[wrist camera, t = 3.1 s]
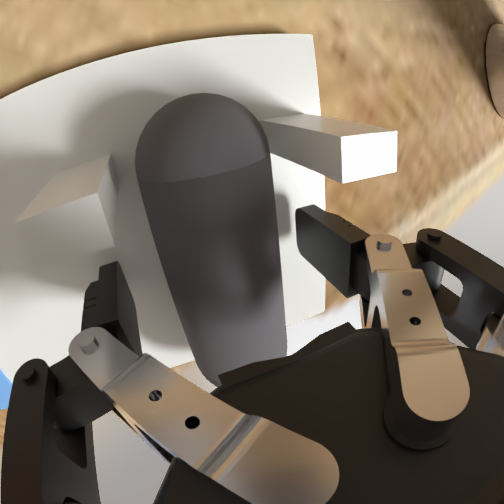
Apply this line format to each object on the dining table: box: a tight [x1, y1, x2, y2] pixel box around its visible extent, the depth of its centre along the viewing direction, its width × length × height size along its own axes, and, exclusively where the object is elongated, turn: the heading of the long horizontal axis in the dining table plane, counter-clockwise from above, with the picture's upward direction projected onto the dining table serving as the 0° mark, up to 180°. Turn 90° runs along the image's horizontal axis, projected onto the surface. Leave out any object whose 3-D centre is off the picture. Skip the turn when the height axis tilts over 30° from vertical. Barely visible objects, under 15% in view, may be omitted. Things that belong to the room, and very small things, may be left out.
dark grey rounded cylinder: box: [135, 93, 287, 387], centre depth 11 cm, size 12×4×4 cm, turn 7°
